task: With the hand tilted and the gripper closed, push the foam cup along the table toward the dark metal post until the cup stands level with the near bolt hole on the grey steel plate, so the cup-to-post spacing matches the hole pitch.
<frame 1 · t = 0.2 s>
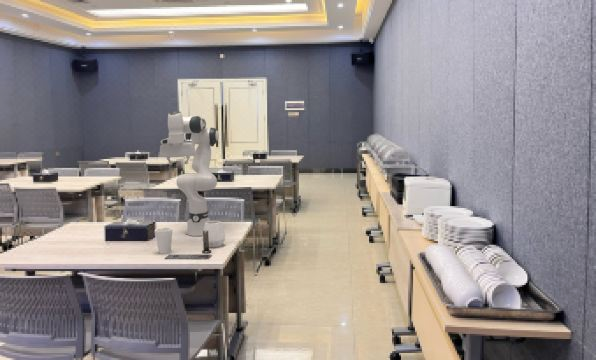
hand: (178, 164, 299), 48 cm above the table, tool pointing down, fingers open, 8 cm apart
foam cup: (164, 252, 292), on the table
hole plate: (188, 257, 280), on the table
white bulging cylinder: (214, 246, 304), on the table
post: (206, 252, 289), on the table
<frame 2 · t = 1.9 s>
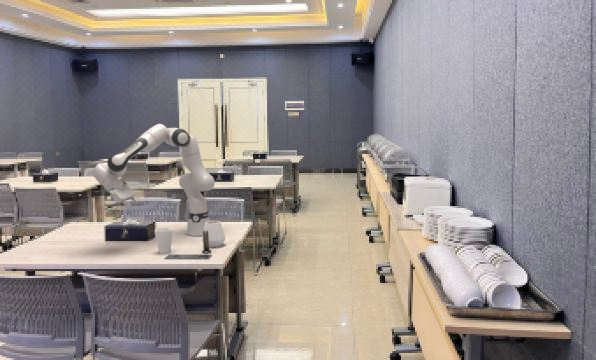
hand: (133, 204, 293), 27 cm above the table, tool tilted 45°, fingers open, 8 cm apart
nothing on the table moved.
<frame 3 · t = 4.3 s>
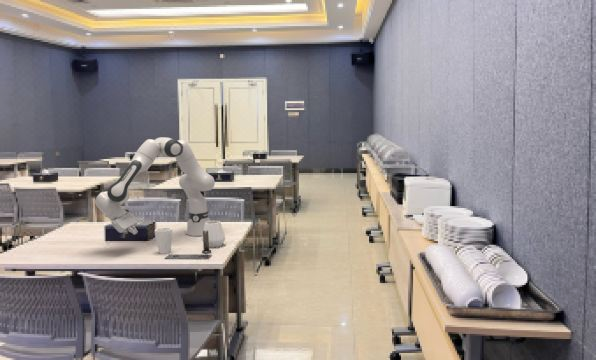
hand: (136, 233, 293), 11 cm above the table, tool tilted 45°, fingers closed
nothing on the table moved.
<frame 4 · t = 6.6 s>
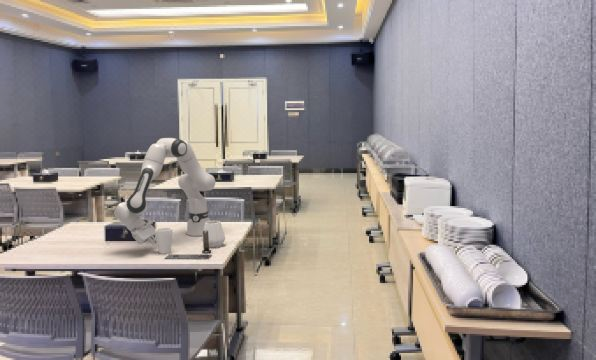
hand: (155, 243, 292), 5 cm above the table, tool tilted 45°, fingers closed, pressing on foam cup
foam cup: (165, 252, 292), on the table, touching gripper
everything else where it was.
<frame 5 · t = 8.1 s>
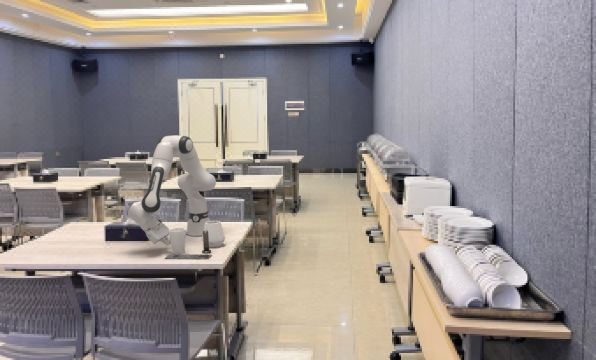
hand: (169, 243, 291), 5 cm above the table, tool tilted 45°, fingers closed, pressing on foam cup
foam cup: (178, 252, 291), on the table, touching gripper
everything else where it was.
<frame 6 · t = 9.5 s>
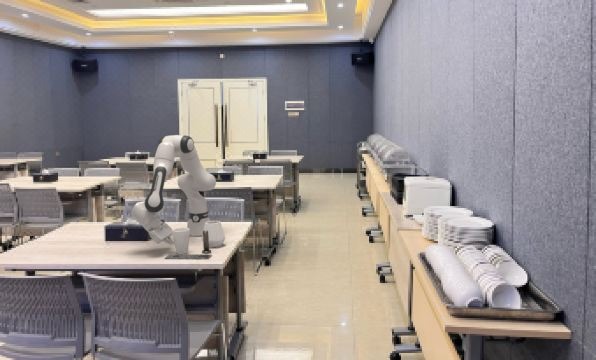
hand: (172, 243, 291), 5 cm above the table, tool tilted 45°, fingers closed
foam cup: (182, 252, 290), on the table
everything else where it was.
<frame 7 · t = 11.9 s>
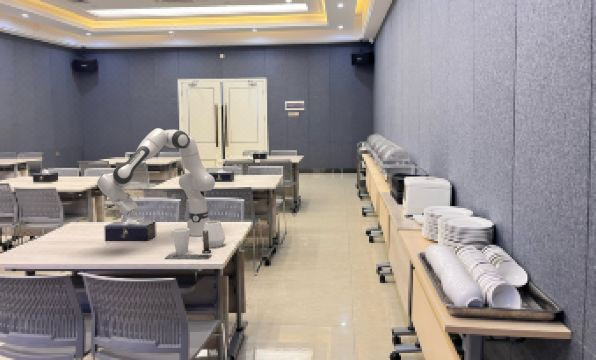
hand: (137, 217, 293), 20 cm above the table, tool tilted 40°, fingers closed
nothing on the table moved.
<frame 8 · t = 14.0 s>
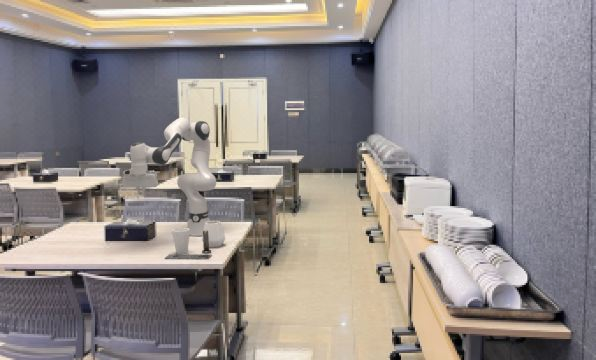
hand: (141, 194, 300), 31 cm above the table, tool pointing down, fingers closed
nothing on the table moved.
at the end: foam cup 0.5 cm from the target spot, on the table; foam cup tilted 0°; foam cup moved 10.1 cm from its start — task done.
